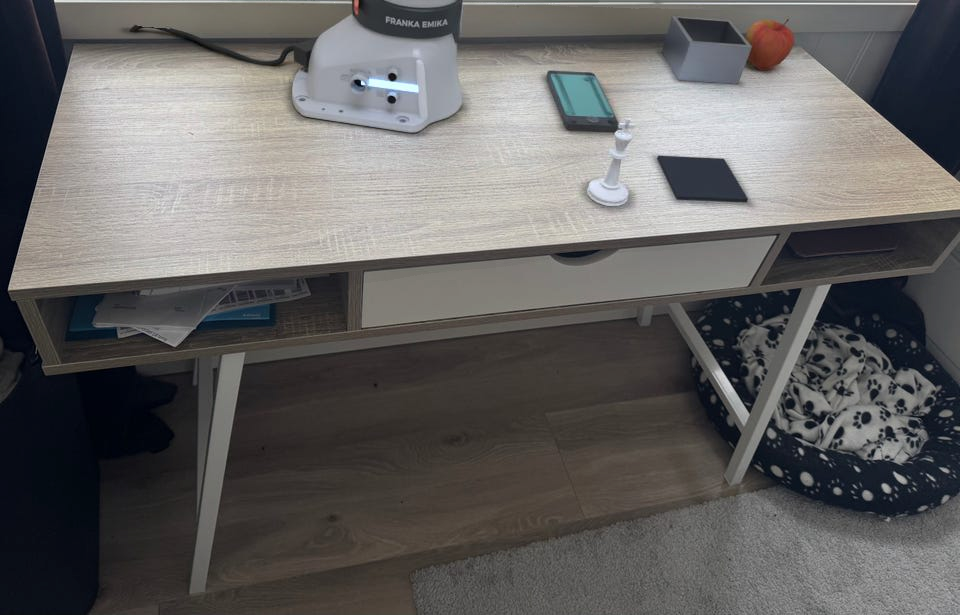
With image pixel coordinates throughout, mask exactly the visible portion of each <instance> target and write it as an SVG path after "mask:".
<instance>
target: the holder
mask: <svg viewBox="0 0 960 615" xmlns="http://www.w3.org/2000/svg"><path fill="white" fill-rule="evenodd" d="M751 48H752V46H751V45H750V44H749V43H748V41H747V40H746V39H745V36H744V35H743V34H742V33H741V31H740V30H739V29H738V27H737V26H735V24H734V23H733V22H732V20H731V19H721V18H707V17H697V16H695V17H694V16H683V15H682V16H681V15H672V16H671V18H670V22H669V26H668V29H667V32H666V35H665V39H664V43H663V47H662V50H661V53H662V55H663V57H664V58H665V60H666V62H667V63H668V65H669V67H670V68H671V70H672V72H673V73H674V76H675V77H676V78H677V80H678V81H683V82H684V81H685V82H700V83H715V84H716V83H717V84H731V85H733V84H734V85H738V84H739V82H740V80H741V77H742V74H743V72H744V69H745V67H746V64H747V61H748V56H749V53H750V51H751Z"/></svg>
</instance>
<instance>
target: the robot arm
mask: <svg viewBox="0 0 960 615" xmlns="http://www.w3.org/2000/svg"><path fill="white" fill-rule="evenodd" d="M463 1H464V0H351V12H352V13H351V14H349V15H348V16H347V17H345V18H343V19H342V20H340V21H339V22H337V23H336V24H334V25H332V26H331V27H329V28H328V29H327V30H324V31H323V32H321V34H320V35H319V36H316V37H313V38H310V39H307V40H304V41H301V42H298V43H294V44H291V45H288V46H287V47H285V48H284V49H283V50H282V51H281V53H280V56H279V57H278V58H277V59H274V60H266V61H265V60H259V59H254V58H251V57H248V56H246V55H243V54H242V53H239V52H236V51H234V50H231V49H230V48H229V49H228V48H226V47H223V46H220V45H216V44H214V43H212V42H210V41H207V40H206V39H203V38H202V37H199V36H197V35H195V34H192V33H190V32H186V31H183V30H179V29H177V28H171V27H169V28H170V29H167V28H154V27H142V26H137V25H136V24H134V25H132V27H130V29H129V31H128V32H129V33H136V32H138V31H139V30H141V29H155V30H158V31H162V32H164V33H165V32H166V33H168V34H171V35H175V36H179V37H183V38H186V39H189V40H192V41H194V42H196V43H198V44H200V45H202V46H204V47H206V48H208V49H210V50H213V51H216V52H219V53H222V54H225V55H228V56H231V57H233V58H236V59H237V60H240V61H242V62H245V63H249V64H254V65H259V66H265V67H276V66H279V65H282V64H283V63H284V62H285V60H286V57H287V56H288V54H289V53H291V52H293V62H295V63H297V64H298V65H300V66H301V67H300V68H299V69H298V71H296V74H295V75H294V78H293V81H292V88H291V100H292V104H293V107H294V108H295V110H296V111H297V112H298V113H299V114H300V115H301V116H303V117H306V118H313V119H319V120H325V121H332V122H337V123H346V124H351V125H357V126H363V127H364V126H365V127H370V128H376V129H377V128H379V129H385V130H389V131H390V130H391V131H397V132H404V133H410V134H411V133H418V132H420V131H422V130H424V129H425V128H426V127H427V126H428V125H430V124H432V123H436V122H438V121H441V120H444V119H447V118H450V117H451V116H453V115H455V114H456V113H457V112H458V111H459V110H460V109H461V107H462V105H463V100H464V98H463V95H462V88H461V84H460V77H459V65H458V64H459V63H458V62H459V61H458V43H459V41H460V35H461V33H462V25H463V14H464V2H463Z"/></svg>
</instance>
